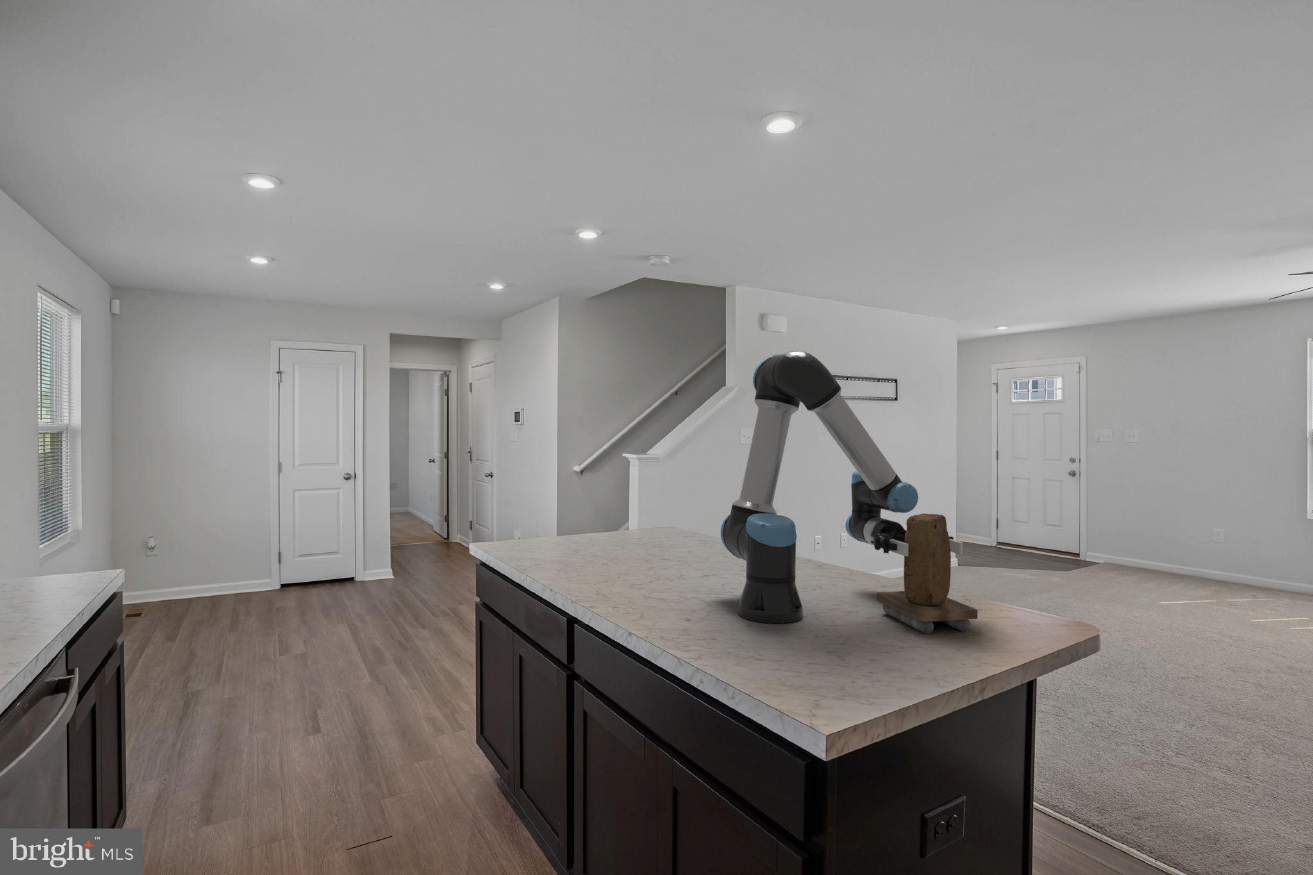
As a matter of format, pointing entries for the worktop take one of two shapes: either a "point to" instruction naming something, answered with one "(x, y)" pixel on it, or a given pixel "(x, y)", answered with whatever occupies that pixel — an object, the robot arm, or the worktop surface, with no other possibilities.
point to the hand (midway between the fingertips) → (934, 549)
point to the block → (927, 560)
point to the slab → (927, 612)
